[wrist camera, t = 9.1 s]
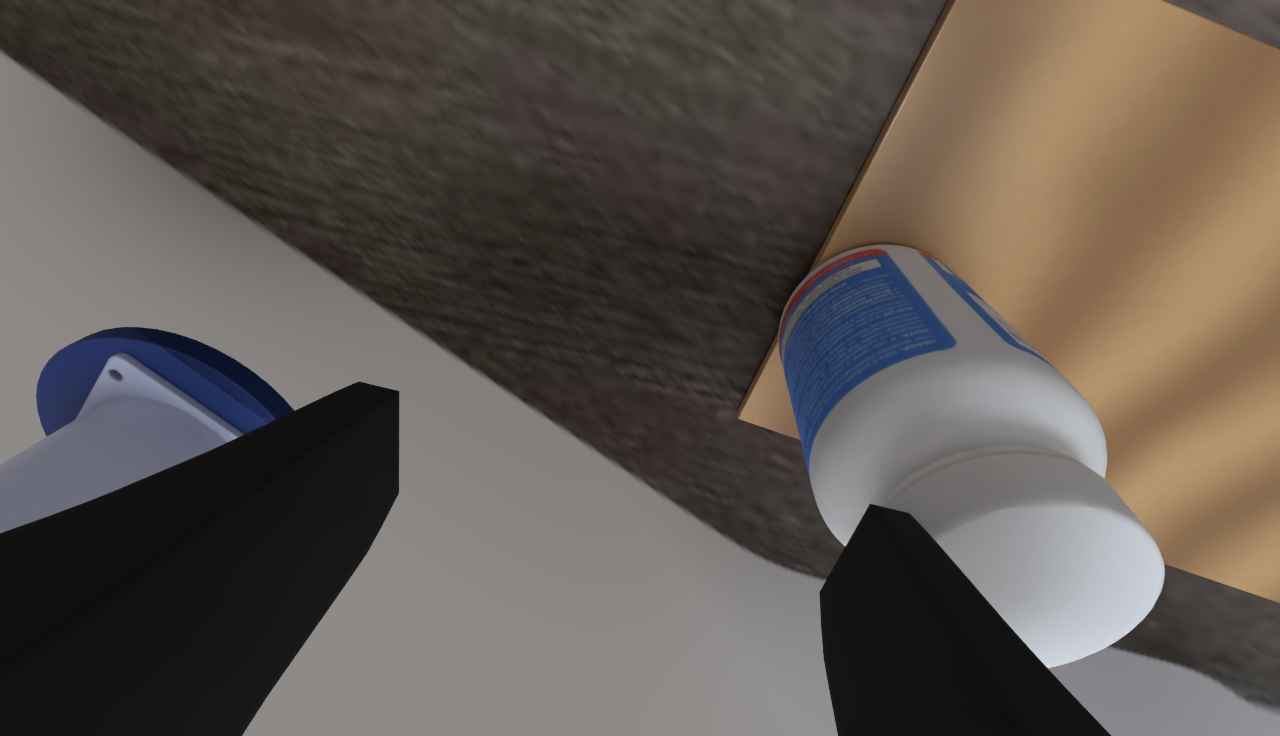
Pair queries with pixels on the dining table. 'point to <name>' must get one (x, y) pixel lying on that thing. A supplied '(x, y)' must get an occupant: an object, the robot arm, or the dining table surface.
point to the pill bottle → (964, 446)
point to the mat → (1106, 242)
